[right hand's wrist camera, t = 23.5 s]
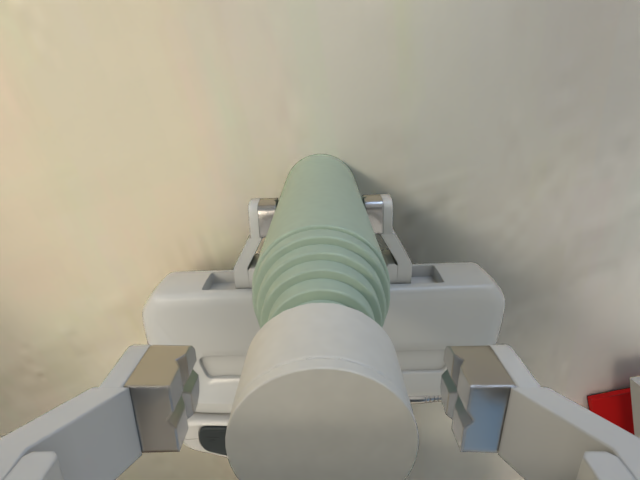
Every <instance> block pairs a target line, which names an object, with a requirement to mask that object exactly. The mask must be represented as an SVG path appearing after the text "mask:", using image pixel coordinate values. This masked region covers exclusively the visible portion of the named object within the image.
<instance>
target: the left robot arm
mask: <svg viewBox="0 0 640 480" xmlns="http://www.w3.org/2000/svg"><path fill="white" fill-rule="evenodd" d="M362 201H363V203H364V206H365V209H366V212H367V214H368V217H369V220H370V222H371V225H372V228H373V231H374V233H375V234H380V235H381V236H382V238H383V240H384V241H385V243H386V245H387V246H388V248H389V250H383V251H382V255H383V258H384V260H385V263H386V266H387V269H388V272H389V277H390V305H389V309H388V313H387V316H386V318H385V321H384V325H383V327H382V328H383V329H384V331H385V332H386V333H387V335H388V336H389V337H390V339H391V341H392V343H393V345H394V348H395V351H396V354H397V358H398V361H399V365H400V368H401V372H402V375H403V379H404V382H405V386H406V389H407V393H408V396H409V400H410V403H411V404H423V403H429V402H437V401H438V402H442V399H441V388H440V385H441V375H442V374H443V373H444V372H445V371H446V370H447V367H446V365H445V363H444V361H443V359H444V351H445V349H446V346H484V345H496V343H497V339H498V336H499V332H500V328H501V324H502V320H503V315H504V310H505V297H504V294H503V292H502V290H501V289H500V287H499V286H498V284H497V283H496V282H495V281H494V279H493V278H492V277H491V276H490V275H489V274H488V273H487V272H486V271H485V270H484V269H483V268H482V267H481V266H479V265H478V264H476V263H473V262H457V263H427V264H412V262H411V260H410V258H409V256H408V254H407V252H406V250H405V248H404V246H403V245H402V243H401V241H400V240H399V238H398V236H397V235H396V233H395V231H394V230H393V202H392V198H391V197H390V195H389V194H374V195H362ZM278 202H279V200H278V198H256V199H251V201H250V202H249V206H248V217H249V227H250V235H249V237H248V239H247V241H246V243H245V245H244V247H243V249H242V251H241V253H240V255H239V258H238V260H237V262H236V264H235V266H234V268H233V270H210V271H177V272H171V273H169V274H168V275H166V276H165V278H164V279H163V280H162V281H161V282H160V283H159V284H158V285H157V286H156V287H155V289H154V290H153V291H152V293H151V294H150V296H149V297H148V299H147V300H146V302H145V304H144V307H143V312H142V317H143V324H144V329H145V334H146V338H147V342H148V345H190V346H193V347H194V348H195V353H196V359H197V361H196V363H195V365H194V367H193V370H194V371H195V372H196V373H197V374H198V375H199V398H198V404H197V407H196V410H195V413H194V415H192V416H191V417H190V418H189V419H187V421H188V431H187V434H186V436H185V439H184V441H183V442H184V444H185V445H186V446H187V447H189V448H191V449H193V450H196V451H200V452H205V453H209V454H214V455H219V456H223V457H227V452H226V447H225V436H226V429H227V425H228V421H229V418H230V414H231V410H232V406H233V403H234V399H235V395H236V392H237V388H238V384H239V381H240V377H241V373H242V370H243V366H244V362H245V359H246V355H247V352H248V349H249V346H250V344H251V342H252V340H253V338H254V337H255V335H256V334H257V332H258V331H259V330H260V326H259V323H258V320H257V318H256V315H255V312H254V308H253V302H252V279H253V273H254V270H255V266H256V264H257V261H258V258H259V255H260V254H255V252H256V250H257V248H258V246H259V244H260V242H261V240H262V238H263V237H266V235H267V233H268V230H269V227H270V224H271V221H272V219H273V216H274V213H275V210H276V207H277V205H278ZM254 254H255V255H254ZM227 458H228V457H227Z"/></svg>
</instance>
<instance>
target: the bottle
mask: <svg viewBox="0 0 640 480" xmlns="http://www.w3.org/2000/svg"><path fill="white" fill-rule="evenodd" d="M252 302H253V308H254V312H255V315H256V318H257V320H258V323H259V326H260V329H261V328H262V327H263V325H265V323H267V322H268V321H269V320H271V319H272V318H273V317H275V316H277V315H278V314H280V313H281V312H283V311H285V310H287V309H290V308H293V307H297V306H300V305H304V304H308V303H309V304H310V303H335V304H340V305H343V306H347V307H350V308H353V309H355V310H359V311H360V312H362V313H364V314H365V315H367V316H368V317H370V318H371V319H373V320H374V321H375V322H376V323H378V324H379V325H380V326H381V327H383V325H384V321H385V318H386V316H387V313H388V309H389V305H390V277H389V272H388V269H387V266H386V263H385V260H384V258H383V255H382V252H381V250H380V247H379V244H378V241H377V239H376V236H375V233H374V231H373V228H372V225H371V222H370V220H369V217H368V214H367V212H366V209H365V206H364V203H363V201H362V198H361V195H360V193H359V190H358V187H357V184H356V182H355V179H354V176H353V174H352V172H351V170H350V169H349V168H348V166H347V165H346V164H345V163H344V162H342V161H341V160H339V159H338V158H336V157H333V156H330V155H325V154H316V155H311V156H308V157H305V158H304V159H302V160H300V161H299V162H298V163H296V164H295V165H294V167H293V168H292V169H291V171H290V172H289V174H288V177H287V179H286V182H285V185H284V188H283V191H282V193H281V196H280V199H279V202H278V205H277V207H276V210H275V213H274V216H273V219H272V221H271V224H270V227H269V230H268V233H267V235H266V238H265V241H264V244H263V247H262V250H261V252H260V255H259V258H258V261H257V264H256V266H255V270H254V273H253V279H252Z"/></svg>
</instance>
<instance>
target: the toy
mask: <svg viewBox="0 0 640 480" xmlns="http://www.w3.org/2000/svg"><path fill="white" fill-rule="evenodd" d="M629 379H630V388H626V389H621V390H616V391H611V392H606V393H601V394H596V395H591V396H587V397H588V404H589V410H590V411H592V412H593V413H595V414H597V415H599V416H601V417H602V418H604V419H606V420H608V421H610V422H611V423H613V424H615V425H617V426H619V427H620V428H622V429H624V430H626V431H628V432H629V433H631V434H633V435H635V436H637V437H639V438H640V376H635V377H630V378H629Z"/></svg>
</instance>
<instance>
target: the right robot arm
mask: <svg viewBox="0 0 640 480" xmlns="http://www.w3.org/2000/svg"><path fill="white" fill-rule="evenodd" d="M196 361H197V359H196V353H195V348H194V347H193V346H190V345H131V346H129V347H128V348H127V350H126V351H125V352H124V354H123V355H122V356H121V358H120V359H119V360H118V362H117V363H116V364H115V366H114V367H113V368H112V370H111V371H110V373H109V374H108V375H107V377H106V378H105V379H104V381H103V382H102V383H101V385H100V386H99V387H92V388H90V389H88V390H86V391H85V392H83V393H81V394H79V395H77V396H76V397H74V398H72V399H70V400H68V401H67V402H65V403H63V404H61V405H59V406H57V407H56V408H54V409H52V410H50V411H48V412H47V413H45V414H43V415H41V416H39V417H37V418H36V419H34V420H32V421H30V422H28V423H27V424H25V425H23V426H21V427H19V428H18V429H16V430H14V431H12V432H10V433H8V434H7V435H5V436H3V437H1V438H0V480H115V479H116V478H117V477H119V476H120V475H121V474H122V473H123V472H124V471H125V470H126V469H127V468H128V467H129V466H130V465H132V464H133V463H134V462H135V461H136V460H137V459H138V458H139V457H140V456H141V455H142V453H149V452H180V449H181V447H182V444H183V441H184V439H185V436H186V434H187V431H188V421H187V419H189V418H190V417H191V416H192V415H194V413H195V410H196V407H197V404H198V398H199V375H198V374H197V373H196V372H195V371H194V370H193V367H194V365H195V363H196ZM443 361H444V363H445V365H446V367H447V370H446V371H445V372H444V373H443V374H442V375H441V385H440V388H441V399H442V404H443V407H444V410H445V413H446V415H448V416H449V417H450V418H451V419H453V421H452V431H453V434H454V436H455V439H456V441H457V444H458V446H459V449H460V452H491V453H498V455H499V456H500V457H501V458H502V459H503V460H504V461H505V462H507V463H508V464H509V465H510V466H511V467H512V468H513V469H514V470H515V471H516V472H517V473H518V474H519V475H521V476H522V477H523V478H524V479H525V480H640V438H639V437H637V436H635V435H633V434H631V433H629V432H628V431H626V430H624V429H622V428H620V427H619V426H617V425H615V424H613V423H611V422H610V421H608V420H606V419H604V418H602V417H601V416H599V415H597V414H595V413H593V412H592V411H590V410H588V409H586V408H584V407H582V406H581V405H579V404H577V403H575V402H573V401H572V400H570V399H568V398H566V397H564V396H563V395H561V394H559V393H557V392H555V391H554V390H552V389H550V388H548V387H541V386H540V385H539V383H538V382H537V381H536V379H535V378H534V377H533V375H532V374H531V373H530V371H529V370H528V369H527V367H526V366H525V365H524V363H523V362H522V361H521V359H520V358H519V357H518V355H517V354H516V352H515V351H514V350H513V348H512V347H511V346H509V345H507V344H503V345H484V346H446V349H445V351H444V359H443Z"/></svg>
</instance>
